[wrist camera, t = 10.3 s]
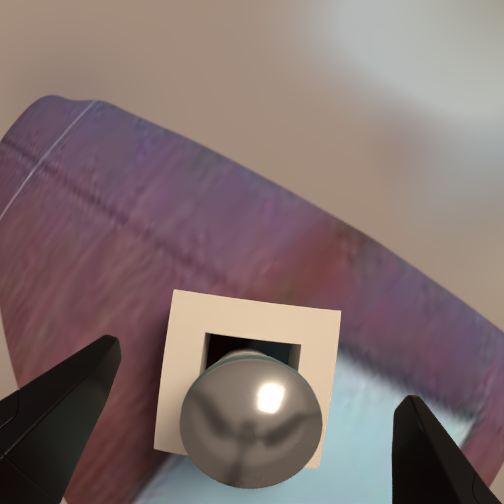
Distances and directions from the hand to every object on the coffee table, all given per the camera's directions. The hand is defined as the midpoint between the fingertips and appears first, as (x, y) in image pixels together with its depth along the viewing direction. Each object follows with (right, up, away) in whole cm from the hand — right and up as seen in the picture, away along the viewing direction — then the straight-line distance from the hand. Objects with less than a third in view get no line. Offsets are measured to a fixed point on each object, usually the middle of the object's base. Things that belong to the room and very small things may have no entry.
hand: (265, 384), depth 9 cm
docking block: (-1, -5, +13) cm, 14 cm away
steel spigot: (-1, -5, +13) cm, 14 cm away
